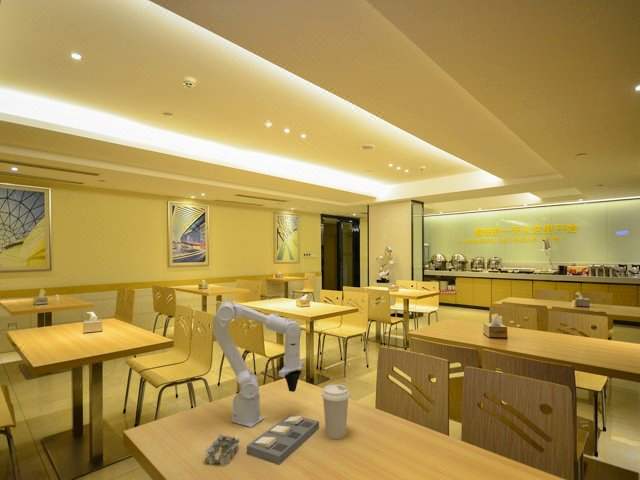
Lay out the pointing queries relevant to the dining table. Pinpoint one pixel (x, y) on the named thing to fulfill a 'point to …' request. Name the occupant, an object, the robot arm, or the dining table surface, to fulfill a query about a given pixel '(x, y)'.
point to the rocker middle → (280, 430)
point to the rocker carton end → (265, 442)
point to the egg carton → (227, 453)
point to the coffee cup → (335, 410)
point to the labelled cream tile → (293, 420)
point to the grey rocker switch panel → (284, 440)
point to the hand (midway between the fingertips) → (292, 390)
